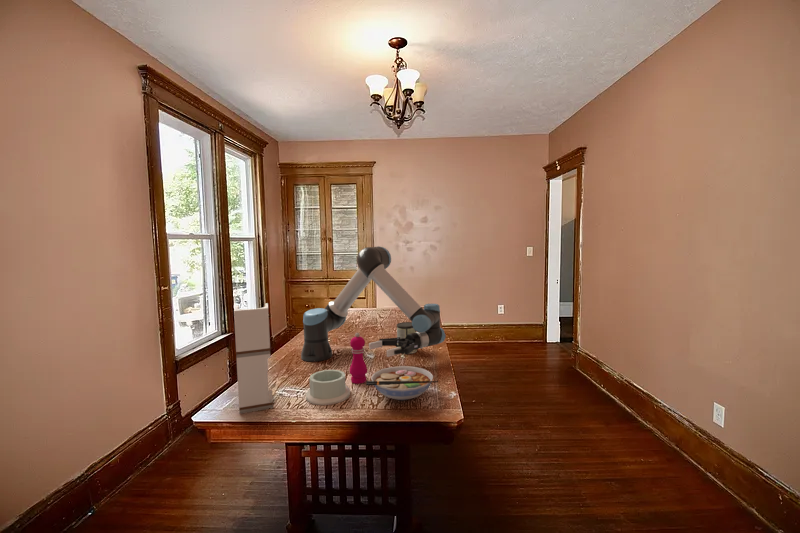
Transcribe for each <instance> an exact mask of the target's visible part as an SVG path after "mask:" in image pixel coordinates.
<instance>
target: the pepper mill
mask: <svg viewBox="0 0 800 533" xmlns="http://www.w3.org/2000/svg"><path fill="white" fill-rule="evenodd" d="M349 342H350V343H349V346H350V347H351V353H352V361H351V364H350V366H349V374H350V375H351V377H350V383H352V384H356V385H360V384H364V383H366V382H367V375H366V374H367V373H368V367H367V364H366V362H365V359H364V352H365V348H364V347H365V345H366V341H365V339H364V338H363V336H360V333H359V332H355V334H354V336H353V337H352V338H351V339H350V341H349Z"/></svg>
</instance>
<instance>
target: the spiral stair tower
mask: <svg viewBox="0 0 800 533" xmlns="http://www.w3.org/2000/svg"><path fill="white" fill-rule="evenodd" d="M264 304H265V306H263V307H262V306H261V307H259V308H257V307H256V308H249V309H247V308H246V309H245V308H243V309H240V305H235V308H234V310H233V317H234V334H235V339H234V340H235V352H236V353H235V356H236V374H237V391H238V409H239V413H238V414H240V413H241V414H245V413H246V412H247V413H252V411H253V412H257V411H258V410H259V411H263V410H269V408H270V409H273V408H274V403H273V402H274V401H273V390H272V389H271V390H270V389H269V377H268V376H269V374H268V372H269V359H270V358H271V357H272V356H271V341H270V337H271V336H270V319H269V318H270V317H269V303H268V302H267V303H264ZM259 411H258V412H259Z"/></svg>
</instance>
